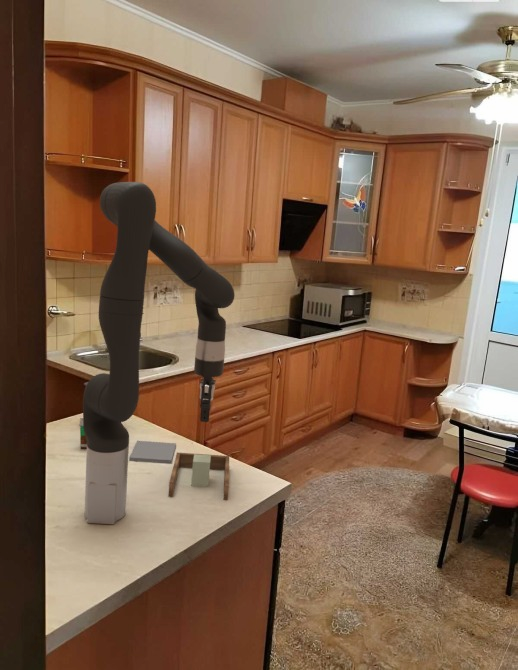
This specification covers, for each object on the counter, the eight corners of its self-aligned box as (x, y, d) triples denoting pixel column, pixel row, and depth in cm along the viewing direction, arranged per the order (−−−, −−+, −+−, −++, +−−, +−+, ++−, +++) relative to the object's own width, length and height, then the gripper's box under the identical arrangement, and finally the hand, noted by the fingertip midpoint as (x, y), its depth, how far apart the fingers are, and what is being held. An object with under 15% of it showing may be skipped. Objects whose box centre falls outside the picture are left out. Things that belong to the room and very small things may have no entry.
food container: (99, 453, 151) (100, 420, 149) (78, 451, 151) (79, 418, 149) (112, 436, 163) (113, 406, 161) (92, 434, 163) (93, 404, 161)
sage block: (208, 487, 137) (210, 462, 136) (191, 485, 137) (193, 461, 136) (208, 479, 142) (210, 455, 140) (192, 477, 142) (194, 454, 140)
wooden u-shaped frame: (227, 500, 132) (228, 485, 131) (168, 496, 131) (169, 481, 130) (228, 468, 149) (229, 456, 148) (176, 465, 148) (176, 452, 147)
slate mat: (171, 463, 149) (171, 460, 148) (129, 460, 148) (129, 457, 148) (175, 446, 160) (176, 443, 160) (137, 443, 160) (137, 440, 159)
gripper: (223, 364, 126) (218, 426, 129) (224, 350, 140) (220, 407, 143) (193, 362, 125) (188, 424, 129) (197, 348, 139) (193, 405, 142)
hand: (205, 415), depth 136 cm, fingers open, 8 cm apart
